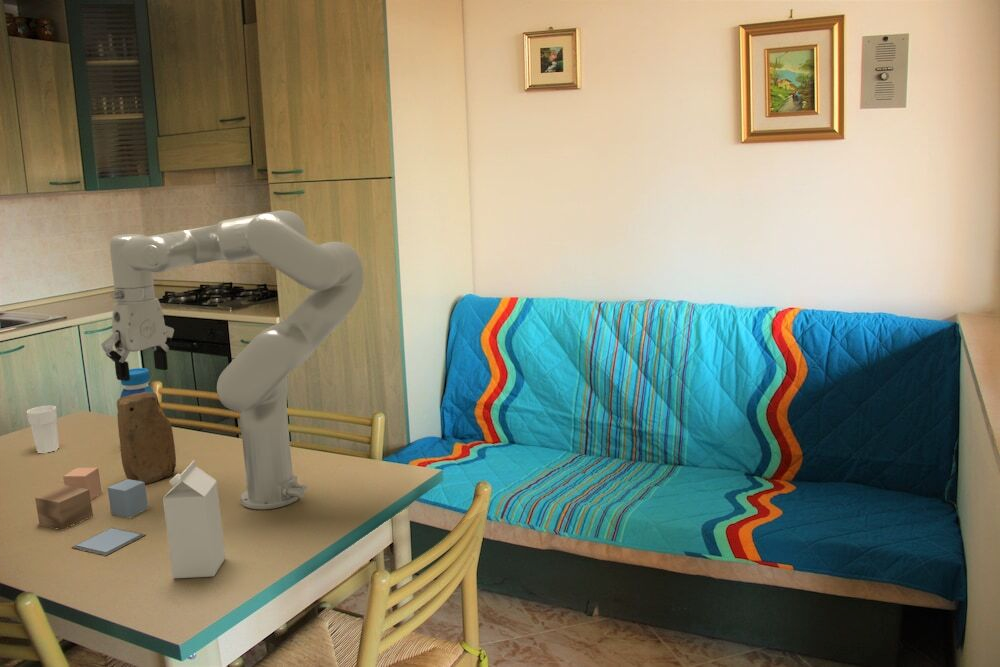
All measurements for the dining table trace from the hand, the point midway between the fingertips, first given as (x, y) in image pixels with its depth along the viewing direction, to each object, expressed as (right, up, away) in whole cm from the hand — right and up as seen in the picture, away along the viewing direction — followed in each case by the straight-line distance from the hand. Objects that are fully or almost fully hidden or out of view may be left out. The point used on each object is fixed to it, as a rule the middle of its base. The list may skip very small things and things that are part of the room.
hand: (142, 374), depth 177 cm
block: (-5, -25, +17) cm, 30 cm away
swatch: (0, -31, -16) cm, 35 cm away
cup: (-41, -22, +39) cm, 60 cm away
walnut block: (-13, -30, -5) cm, 33 cm away
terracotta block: (-15, -27, +6) cm, 32 cm away
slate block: (-2, -29, -2) cm, 29 cm away
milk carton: (+22, -33, -28) cm, 49 cm away
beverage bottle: (-16, -21, +39) cm, 47 cm away
